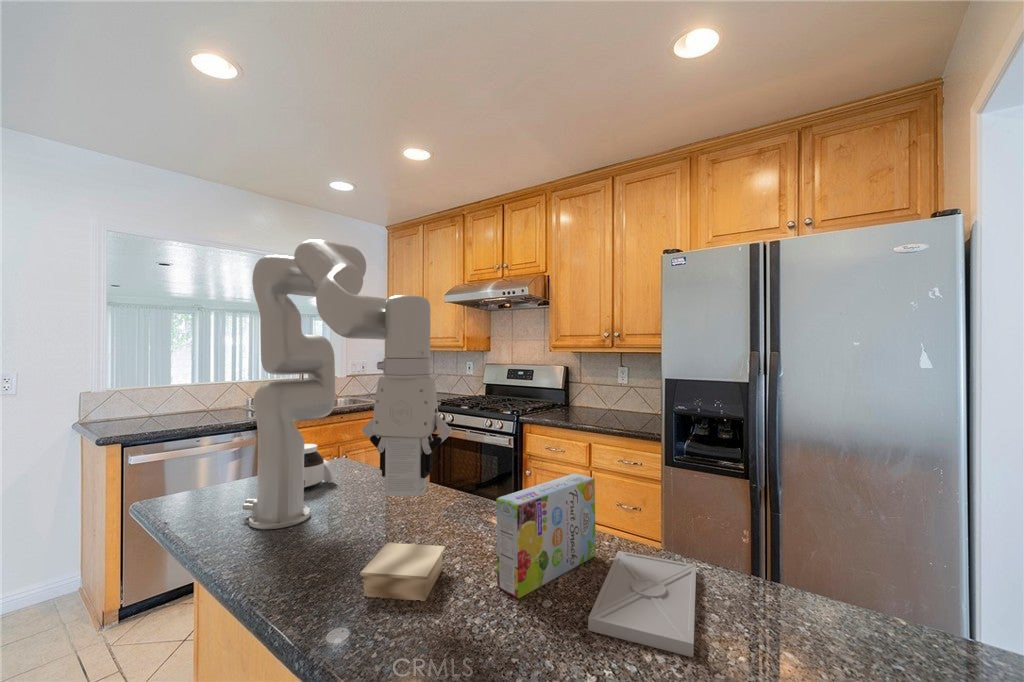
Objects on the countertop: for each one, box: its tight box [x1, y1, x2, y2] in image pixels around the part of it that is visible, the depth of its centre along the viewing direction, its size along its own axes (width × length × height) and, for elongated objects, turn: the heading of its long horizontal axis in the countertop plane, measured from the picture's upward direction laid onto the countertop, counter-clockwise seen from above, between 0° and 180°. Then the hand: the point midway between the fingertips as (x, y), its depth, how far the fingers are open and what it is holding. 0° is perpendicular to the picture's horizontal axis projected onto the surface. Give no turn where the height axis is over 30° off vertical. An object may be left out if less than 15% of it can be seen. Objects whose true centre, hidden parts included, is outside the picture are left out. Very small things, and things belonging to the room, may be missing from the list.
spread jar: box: [304, 443, 337, 492], centre depth 127 cm, size 12×11×12 cm
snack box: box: [496, 473, 597, 599], centre depth 79 cm, size 21×6×15 cm, turn 134°
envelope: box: [587, 550, 697, 658], centre depth 71 cm, size 24×2×14 cm
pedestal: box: [359, 542, 446, 602], centre depth 75 cm, size 11×11×4 cm
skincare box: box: [384, 437, 428, 497], centre depth 75 cm, size 6×4×12 cm
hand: (406, 474), depth 75 cm, fingers closed on skincare box, 6 cm apart
